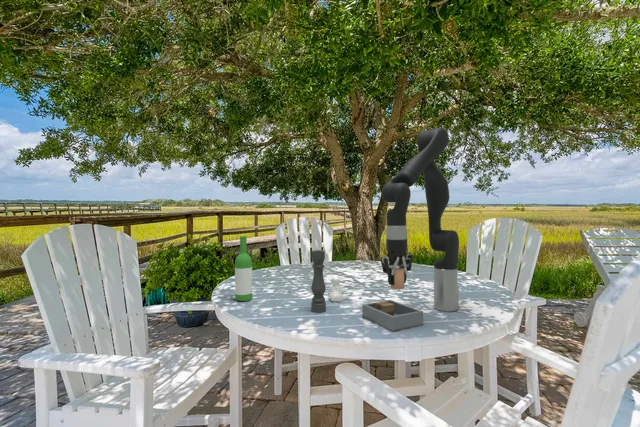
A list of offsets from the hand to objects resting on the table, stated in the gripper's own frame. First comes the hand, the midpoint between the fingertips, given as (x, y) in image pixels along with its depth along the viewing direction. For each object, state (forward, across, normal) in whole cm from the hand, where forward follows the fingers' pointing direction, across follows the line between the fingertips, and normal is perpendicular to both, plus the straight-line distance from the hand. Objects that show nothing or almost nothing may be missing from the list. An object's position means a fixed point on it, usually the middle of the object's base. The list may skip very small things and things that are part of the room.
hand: (397, 283), depth 122 cm
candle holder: (+15, -18, +29) cm, 37 cm away
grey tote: (+15, 0, +4) cm, 15 cm away
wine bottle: (+14, -40, +61) cm, 75 cm away
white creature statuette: (+15, -2, +38) cm, 41 cm away
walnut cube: (+14, 0, +8) cm, 16 cm away
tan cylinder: (+1, 0, 0) cm, 1 cm away
